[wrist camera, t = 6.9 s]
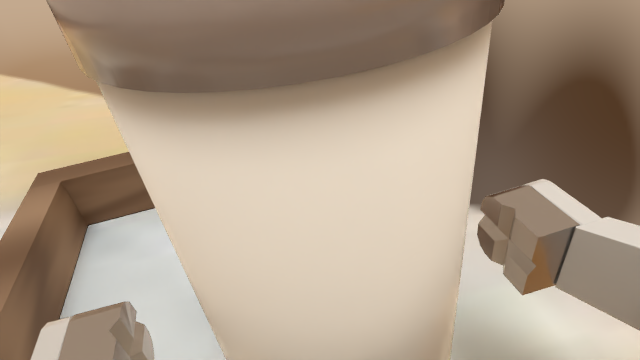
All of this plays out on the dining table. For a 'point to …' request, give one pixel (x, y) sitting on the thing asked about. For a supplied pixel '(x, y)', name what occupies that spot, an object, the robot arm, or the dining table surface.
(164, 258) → the dining table surface
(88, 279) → the dining table surface
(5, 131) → the dining table surface
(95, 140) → the dining table surface
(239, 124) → the canister
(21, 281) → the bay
